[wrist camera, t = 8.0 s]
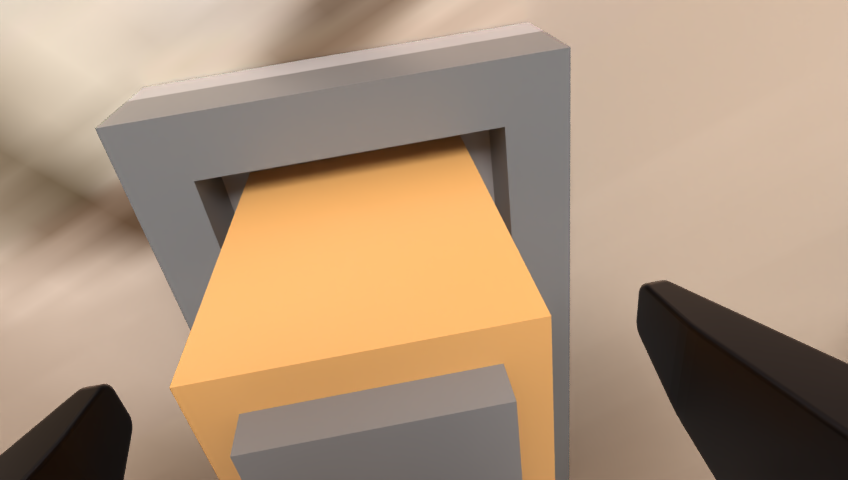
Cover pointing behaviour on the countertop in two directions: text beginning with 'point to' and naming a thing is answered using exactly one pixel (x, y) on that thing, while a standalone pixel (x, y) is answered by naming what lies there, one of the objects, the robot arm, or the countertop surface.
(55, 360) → the countertop surface
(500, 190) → the grey tray
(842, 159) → the countertop surface
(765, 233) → the countertop surface
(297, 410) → the plug
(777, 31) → the countertop surface
